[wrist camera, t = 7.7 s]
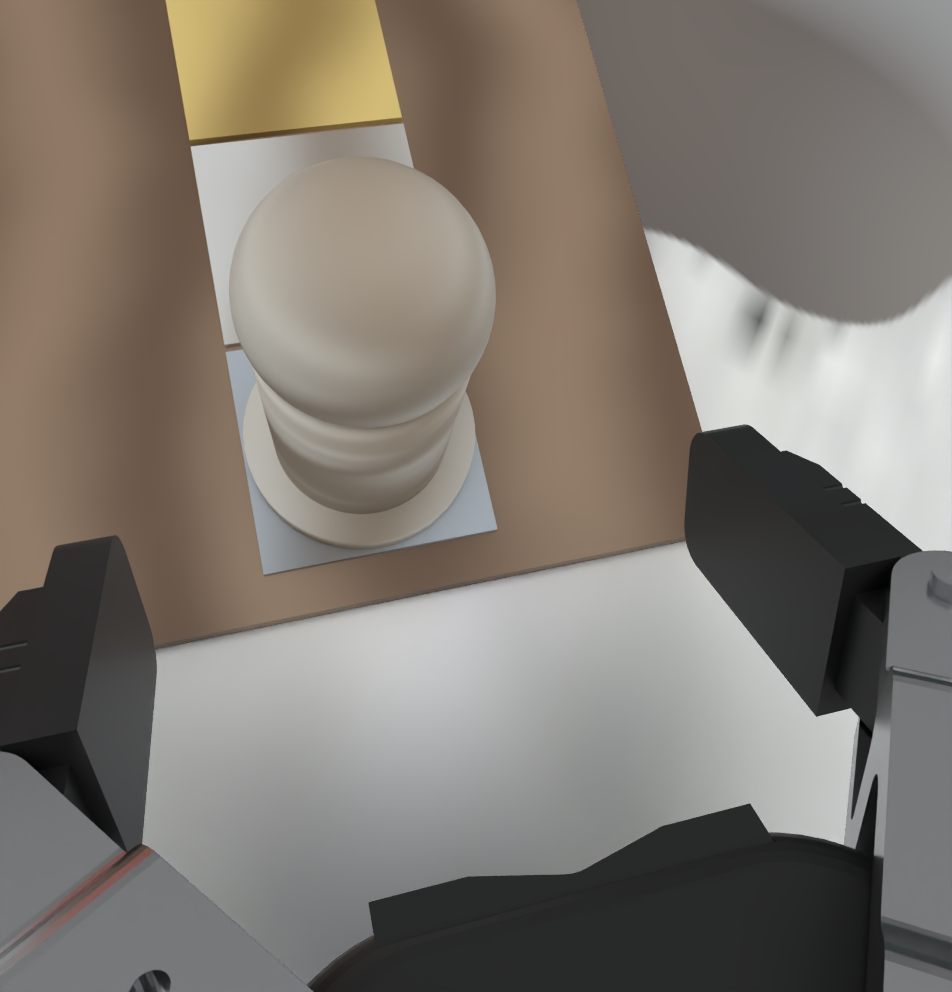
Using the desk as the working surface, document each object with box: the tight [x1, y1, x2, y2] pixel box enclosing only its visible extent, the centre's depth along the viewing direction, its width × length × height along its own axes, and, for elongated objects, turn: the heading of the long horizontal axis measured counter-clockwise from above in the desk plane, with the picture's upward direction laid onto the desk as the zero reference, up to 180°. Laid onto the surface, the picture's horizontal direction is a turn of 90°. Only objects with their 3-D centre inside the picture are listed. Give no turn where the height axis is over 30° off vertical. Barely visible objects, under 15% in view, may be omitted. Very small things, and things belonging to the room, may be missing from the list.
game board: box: [0, 0, 702, 649], centre depth 23 cm, size 26×22×3 cm
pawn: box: [229, 156, 496, 549], centre depth 18 cm, size 6×6×10 cm
